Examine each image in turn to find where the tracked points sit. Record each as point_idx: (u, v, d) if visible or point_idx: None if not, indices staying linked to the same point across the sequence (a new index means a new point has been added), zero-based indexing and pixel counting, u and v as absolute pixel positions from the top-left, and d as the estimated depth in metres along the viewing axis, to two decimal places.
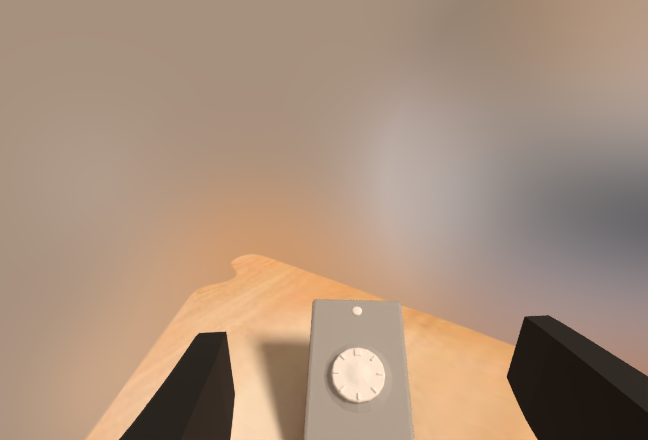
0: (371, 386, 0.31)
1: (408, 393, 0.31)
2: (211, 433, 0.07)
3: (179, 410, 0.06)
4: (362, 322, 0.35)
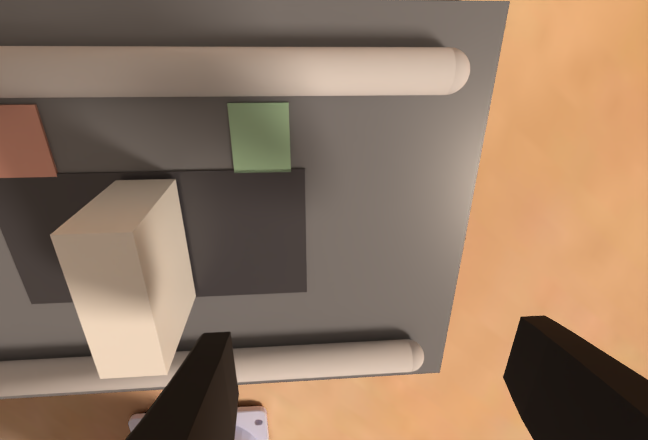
0: None
1: None
2: (216, 432, 0.07)
3: (185, 409, 0.06)
4: None
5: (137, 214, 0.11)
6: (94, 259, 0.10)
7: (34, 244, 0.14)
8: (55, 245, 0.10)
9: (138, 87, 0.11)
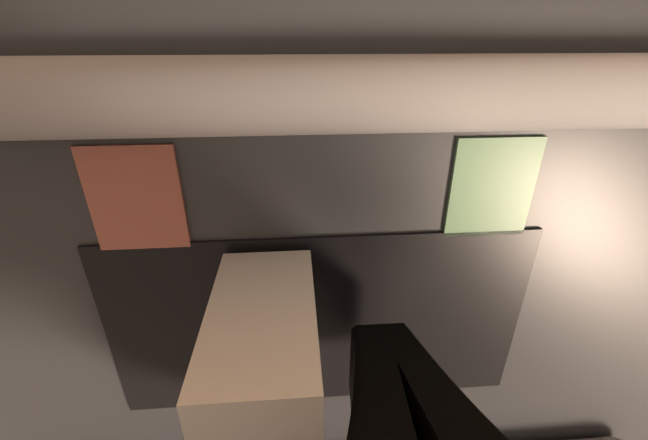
0: None
1: None
2: None
3: (392, 396, 0.06)
4: None
5: (302, 340, 0.06)
6: (247, 437, 0.06)
7: (143, 335, 0.10)
8: (183, 422, 0.05)
9: (365, 121, 0.07)
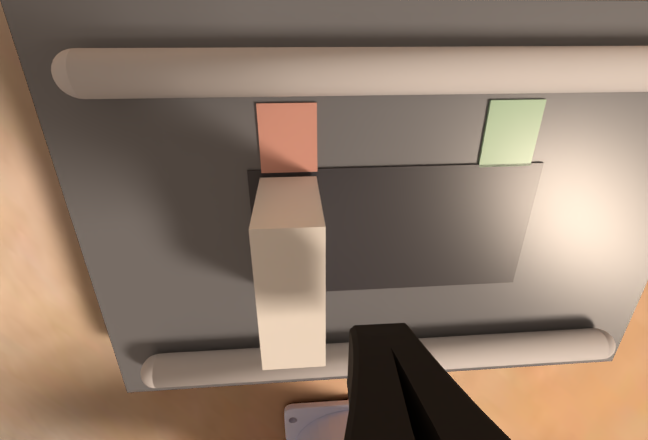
0: None
1: None
2: None
3: (390, 396, 0.06)
4: None
5: (313, 209, 0.11)
6: (284, 253, 0.10)
7: None
8: (251, 239, 0.10)
9: (441, 85, 0.12)
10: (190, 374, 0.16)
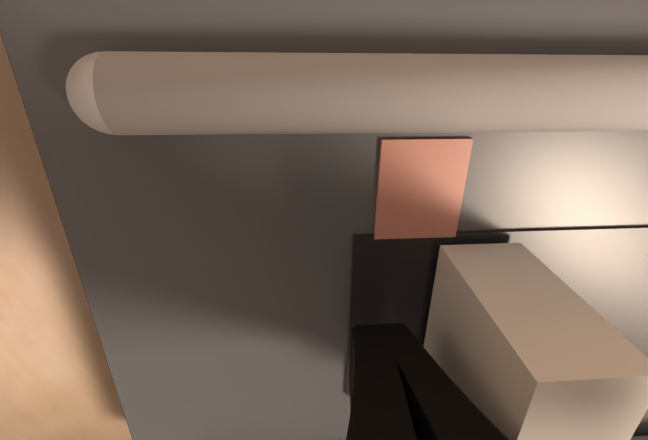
0: None
1: None
2: None
3: (392, 396, 0.06)
4: None
5: (595, 324, 0.07)
6: (580, 414, 0.06)
7: (380, 323, 0.10)
8: (537, 397, 0.06)
9: None
10: None
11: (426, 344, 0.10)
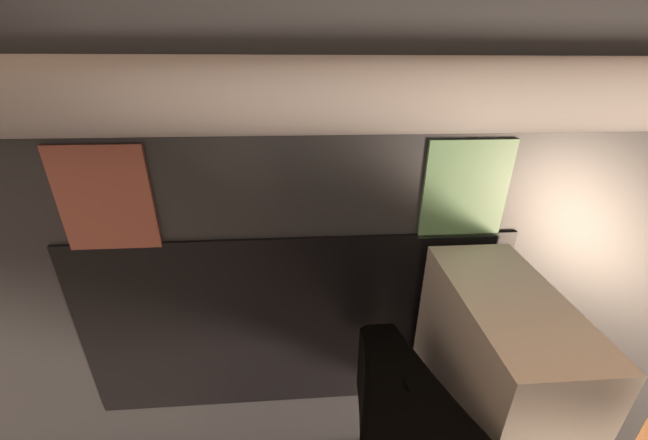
0: None
1: None
2: None
3: (404, 395, 0.07)
4: None
5: (580, 326, 0.07)
6: (561, 416, 0.06)
7: (117, 336, 0.10)
8: (518, 400, 0.06)
9: (330, 122, 0.07)
10: None
11: (416, 345, 0.10)
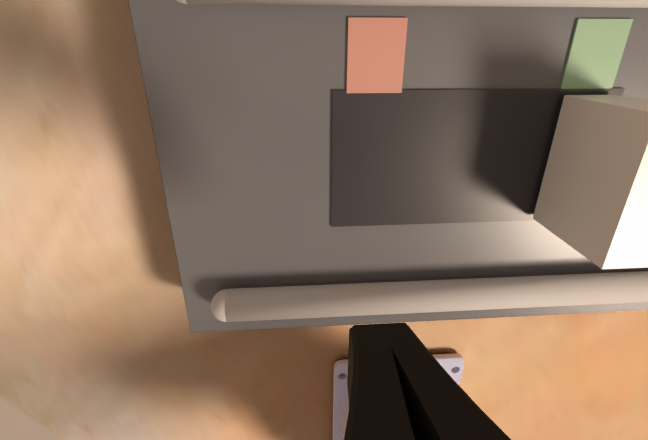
0: None
1: None
2: None
3: (390, 396, 0.06)
4: None
5: None
6: None
7: (353, 164, 0.15)
8: None
9: None
10: (262, 306, 0.16)
11: (547, 173, 0.15)
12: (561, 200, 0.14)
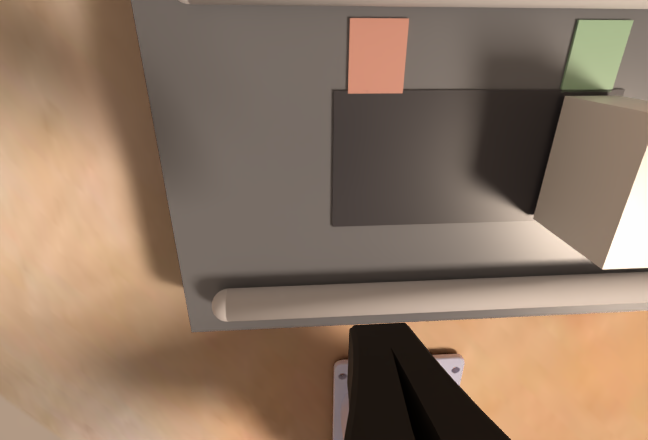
0: None
1: None
2: None
3: (390, 396, 0.06)
4: None
5: None
6: None
7: (355, 164, 0.15)
8: None
9: None
10: (263, 306, 0.16)
11: (547, 174, 0.15)
12: (561, 200, 0.14)
